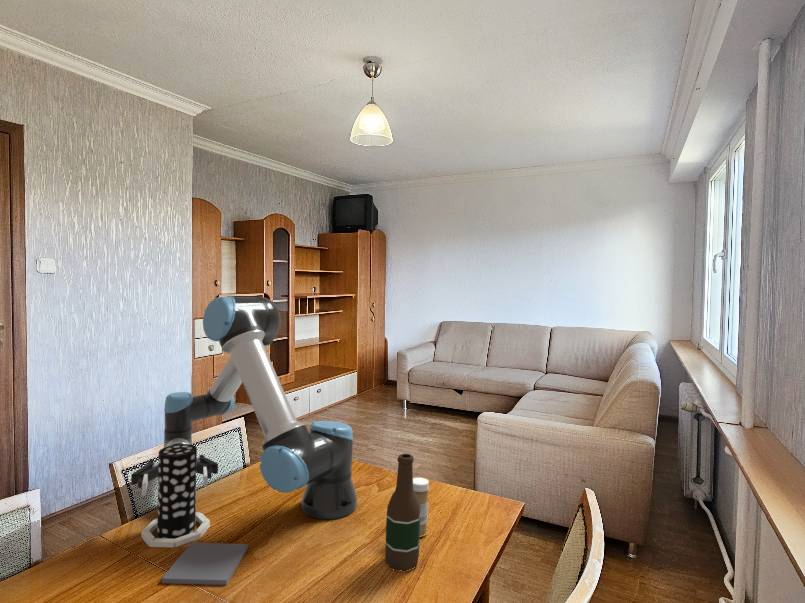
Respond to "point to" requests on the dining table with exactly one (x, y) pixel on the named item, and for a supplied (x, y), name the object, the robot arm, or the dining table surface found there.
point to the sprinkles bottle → (422, 501)
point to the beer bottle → (403, 520)
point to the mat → (206, 564)
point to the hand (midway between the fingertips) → (175, 485)
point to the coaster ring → (176, 542)
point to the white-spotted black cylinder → (176, 491)
